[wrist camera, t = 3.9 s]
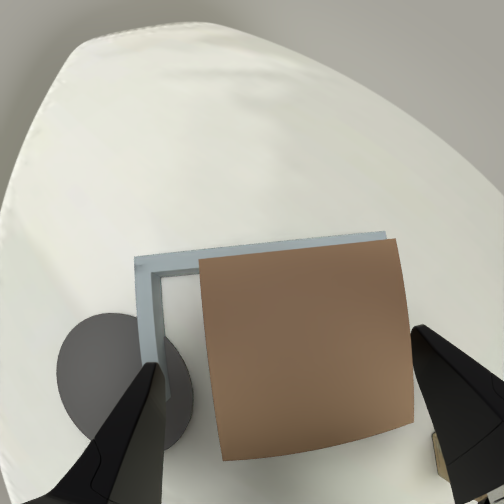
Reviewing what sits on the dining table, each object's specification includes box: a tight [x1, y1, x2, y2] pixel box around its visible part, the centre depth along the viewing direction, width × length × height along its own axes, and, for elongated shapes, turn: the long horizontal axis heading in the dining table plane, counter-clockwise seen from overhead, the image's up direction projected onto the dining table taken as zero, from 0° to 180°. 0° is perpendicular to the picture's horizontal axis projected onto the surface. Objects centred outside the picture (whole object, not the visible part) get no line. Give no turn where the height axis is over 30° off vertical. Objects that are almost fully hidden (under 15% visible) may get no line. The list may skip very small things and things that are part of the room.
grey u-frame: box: [134, 231, 387, 401], centre depth 17 cm, size 8×15×2 cm, turn 96°
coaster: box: [56, 313, 193, 451], centre depth 16 cm, size 10×10×1 cm
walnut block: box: [198, 238, 414, 461], centre depth 12 cm, size 4×4×12 cm
